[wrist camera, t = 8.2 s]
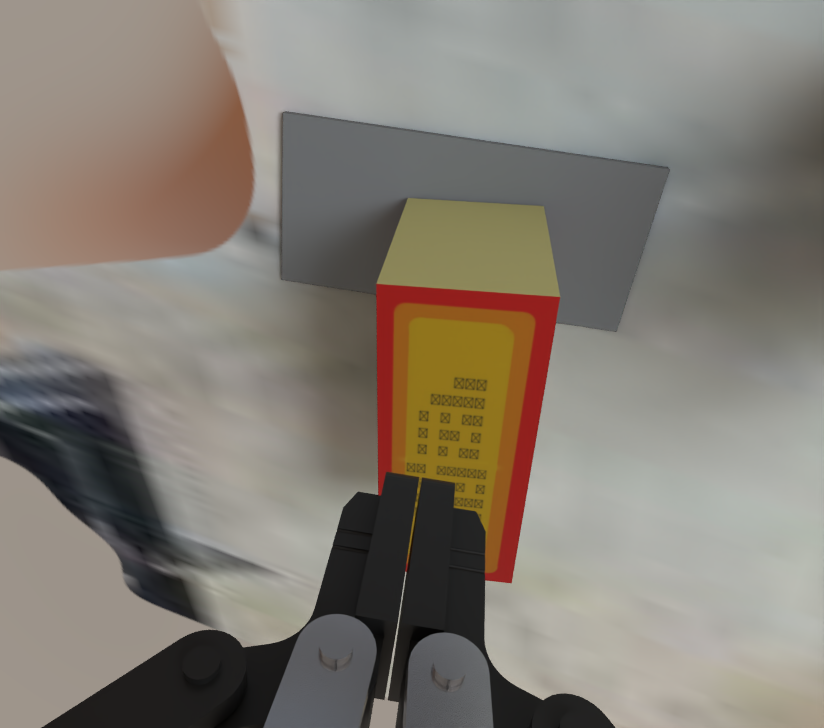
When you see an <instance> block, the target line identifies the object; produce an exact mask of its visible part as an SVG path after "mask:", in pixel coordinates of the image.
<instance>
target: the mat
mask: <svg viewBox="0 0 824 728" xmlns="http://www.w3.org/2000/svg"><path fill="white" fill-rule="evenodd" d="M669 171H670V169H669V168H668V167H662V166H655V165H648V164H641V163H634V162H627V161H621V160H614V159H607V158H600V157H593V156H587V155H580V154H573V153H566V152H559V151H552V150H546V149H539V148H532V147H525V146H518V145H511V144H505V143H498V142H491V141H484V140H477V139H471V138H464V137H457V136H450V135H443V134H436V133H430V132H423V131H416V130H409V129H402V128H396V127H389V126H382V125H375V124H368V123H361V122H355V121H348V120H341V119H334V118H327V117H321V116H314V115H307V114H300V113H293V112H286V111H285V112H283V169H282V280H287V281H293V282H300V283H306V284H312V285H319V286H325V287H332V288H338V289H345V290H351V291H357V292H364V293H370V294H376V283H377V281H378V278H379V275H380V273H381V270H382V267H383V264H384V262H385V259H386V256H387V253H388V251H389V248H390V245H391V243H392V240H393V237H394V234H395V232H396V229H397V226H398V224H399V221H400V218H401V215H402V213H403V210H404V207H405V204H406V202H407V199H408V198H417V199H433V200H450V201H467V202H483V203H500V204H517V205H534V206H544V209H545V215H546V221H547V226H548V232H549V237H550V243H551V248H552V254H553V259H554V265H555V271H556V276H557V282H558V287H559V293H560V301H559V307H558V313H557V319H556V323H562V324H569V325H575V326H582V327H588V328H595V329H601V330H607V331H614V332H616V331H617V328H618V325H619V322H620V319H621V316H622V313H623V310H624V307H625V304H626V301H627V298H628V295H629V292H630V289H631V286H632V283H633V280H634V277H635V274H636V271H637V268H638V265H639V262H640V259H641V256H642V253H643V250H644V246H645V243H646V240H647V237H648V234H649V231H650V228H651V225H652V222H653V219H654V216H655V213H656V210H657V207H658V204H659V201H660V198H661V195H662V192H663V189H664V186H665V183H666V180H667V177H668V174H669Z"/></svg>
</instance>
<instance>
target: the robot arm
mask: <svg viewBox="0 0 824 728" xmlns="http://www.w3.org/2000/svg"><path fill="white" fill-rule="evenodd" d="M418 482H419V477H417V476H411V475H405V474H399V473H393V472H386V475H385V479H384V484H383V489H382V493H381V495H375V494H369V493H363V492H357V493H356V494H355V495H354V497H353V498H352V499H351V500H350V501H349V502H348V503H347V504H346V505H345V506H344V507H343V510H342V514H341V518H340V521H339V525H338V528H337V532H336V535H335V539H334V542H333V547H332V549H331V553H330V556H329V560H328V563H327V567H326V571H325V574H324V578H323V581H322V585H321V588H320V592H319V595H318V599H317V602H316V606H315V609H314V612H313V615H312V616H311V618H310V620H309V621H308V622H307V624H306V625H305V626H304V627H303V628H302V629H301V630H300V631H299V632H297V633H296V634H294V635H293V636H291V637H289V638H287V639H285V640H283V641H280V642H276V643H272V644H265V645H258V646H251V647H245V648H243V647H242V646H241V644H240V642H239V641H237V639H236V638H234V637H233V636H231V635H230V634H227V633H225V632H222V631H218V630H202V631H198V632H194V633H192V634H189V635H187V636H185V637H183V638H181V639H179V640H178V641H177V642H175V643H173V644H172V645H170V646H169V647H167V648H165V649H164V650H162V651H161V652H159V653H158V654H156V655H154V656H153V657H151V658H150V659H148V660H147V661H145V662H144V663H142V664H140V665H139V666H137V667H136V668H134V669H133V670H131V671H129V672H128V673H126V674H125V675H123V676H122V677H120V678H119V679H117V680H116V681H114V682H112V683H111V684H109V685H108V686H106V687H105V688H103V689H101V690H100V691H98V692H97V693H95V694H93V695H92V696H90V697H89V698H87V699H86V700H84V701H83V702H81V703H79V704H78V705H77V706H75V707H73V708H72V709H70V710H69V711H67V712H65V713H64V714H62V715H61V716H59V717H58V718H56V719H54V720H53V721H51V722H50V723H48V724H47V725H45V726H44V727H42V728H369V726H370V720H371V714H372V708H373V702H374V698H377V699H383V700H384V698H385V693H386V687H387V681H388V676H389V670H390V664H391V658H392V652H393V647H394V641H395V635H396V629H397V623H398V617H399V610H400V603H401V597H402V590H403V583H404V576H405V570H406V563H407V556H408V549H409V543H410V536H411V529H412V523H413V516H414V509H415V502H416V496H417V489H418ZM454 496H455V483H454V482H448V481H442V480H436V479H430V478H424V477H422V481H421V486H420V492H419V498H418V504H417V510H416V515H415V521H414V527H413V533H412V539H411V546H410V552H409V559H408V566H407V573H406V580H405V587H404V593H403V600H402V607H401V614H400V621H399V628H398V635H397V641H396V648H395V655H394V662H393V669H392V676H391V683H390V689H389V696H388V700H390V701H395V702H399V705H398V713H397V720H396V728H615V726H614V725H613V724H612V723H611V722H610V720H609V719H608V718H607V717H606V716H605V714H604V713H603V712H602V711H601V710H600V709H599V708H597V707H596V706H595V705H594V704H592V703H591V702H589V701H588V700H586V699H584V698H582V697H579V696H576V695H572V694H556V695H552V696H550V697H548V698H546V699H545V700H541V699H539V698H538V697H536V696H534V695H532V694H530V693H528V692H526V691H524V690H522V689H520V688H518V687H517V686H515V685H513V684H512V683H510V682H509V681H508V680H506V679H505V678H504V677H503V676H502V675H501V674H500V673H499V672H498V671H497V670H496V668H495V667H494V666H493V664H492V663H491V661H490V659H489V657H488V654H487V652H486V648H485V641H484V619H485V548H486V531H485V529H484V527H483V525H482V523H481V521H480V518H479V516H478V514H477V512H476V511H471V510H465V509H459V508H454Z"/></svg>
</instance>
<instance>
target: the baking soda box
mask: <svg viewBox="0 0 824 728" xmlns="http://www.w3.org/2000/svg"><path fill="white" fill-rule="evenodd" d="M376 298H377V400H378V495H381V493H382V489H383V484H384V479H385V475H386V472H393V473H399V474H405V475H411V476H417V477H419V482H418V489H417V496H416V502H415V509H414V516H413V523H412V529H411V536H410V543H409V549H408V556H407V563H406V570H405V572H407V566H408V559H409V552H410V546H411V539H412V533H413V527H414V521H415V515H416V510H417V504H418V498H419V492H420V486H421V481H422V477H424V478H430V479H436V480H442V481H448V482H454V483H455V496H454V508H459V509H465V510H471V511H476V512H477V514H478V516H479V518H480V521H481V523H482V525H483V527H484V529H485V531H486V548H485V580H487V581H496V582H505V583H512V577H513V571H514V565H515V559H516V553H517V548H518V542H519V536H520V530H521V524H522V518H523V512H524V507H525V501H526V495H527V489H528V483H529V477H530V471H531V466H532V460H533V454H534V448H535V442H536V436H537V430H538V425H539V419H540V413H541V407H542V401H543V395H544V389H545V384H546V378H547V372H548V366H549V360H550V354H551V348H552V342H553V337H554V331H555V325H556V319H557V313H558V307H559V301H560V293H559V287H558V282H557V276H556V271H555V265H554V259H553V254H552V248H551V243H550V237H549V232H548V226H547V221H546V215H545V209H544V206H534V205H517V204H500V203H483V202H467V201H450V200H433V199H417V198H408V199H407V202H406V204H405V207H404V210H403V213H402V215H401V218H400V221H399V224H398V226H397V229H396V232H395V234H394V237H393V240H392V243H391V245H390V248H389V251H388V253H387V256H386V259H385V262H384V264H383V267H382V270H381V273H380V275H379V278H378V281H377V283H376Z"/></svg>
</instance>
